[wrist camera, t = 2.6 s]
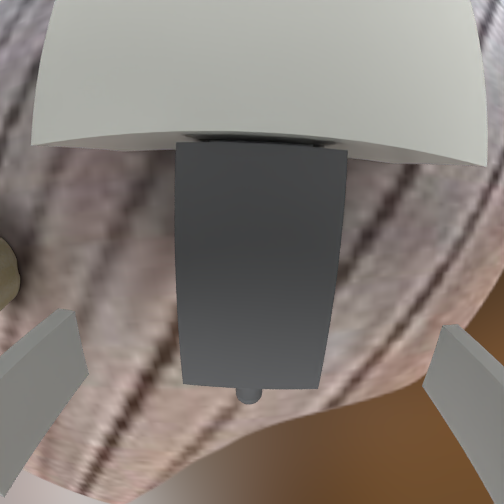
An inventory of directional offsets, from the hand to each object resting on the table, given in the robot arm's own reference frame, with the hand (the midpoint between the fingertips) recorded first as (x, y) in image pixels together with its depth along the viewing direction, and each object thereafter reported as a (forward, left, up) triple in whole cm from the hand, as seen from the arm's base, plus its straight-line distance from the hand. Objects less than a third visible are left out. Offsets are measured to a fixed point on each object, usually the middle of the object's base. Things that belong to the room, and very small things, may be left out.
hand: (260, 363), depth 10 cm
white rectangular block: (-12, 0, -12) cm, 17 cm away
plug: (-3, 0, -11) cm, 11 cm away
